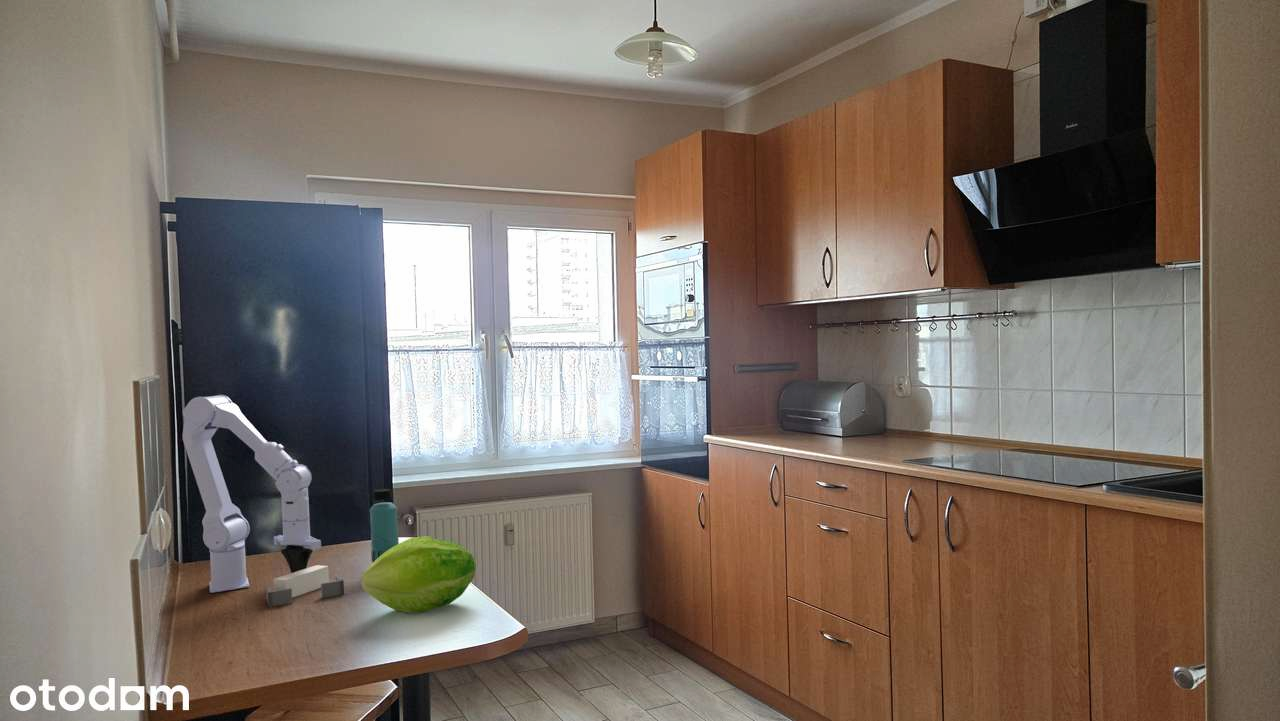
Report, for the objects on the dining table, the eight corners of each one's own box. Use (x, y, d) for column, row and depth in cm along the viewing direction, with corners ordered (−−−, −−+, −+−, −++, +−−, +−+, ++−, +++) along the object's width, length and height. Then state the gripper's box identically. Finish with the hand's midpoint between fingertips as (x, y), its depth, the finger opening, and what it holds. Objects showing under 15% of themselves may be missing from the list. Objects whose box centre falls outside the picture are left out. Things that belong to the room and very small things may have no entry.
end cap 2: (318, 591, 184) (317, 578, 184) (339, 588, 186) (339, 574, 186) (322, 597, 179) (321, 584, 179) (344, 594, 181) (343, 580, 181)
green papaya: (374, 627, 154) (356, 617, 167) (490, 603, 165) (465, 596, 179) (368, 547, 155) (350, 544, 169) (484, 529, 167) (459, 528, 180)
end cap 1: (266, 600, 179) (265, 586, 179) (289, 596, 181) (288, 582, 181) (268, 606, 174) (268, 592, 173) (292, 603, 176) (291, 588, 176)
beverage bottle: (404, 569, 200) (401, 486, 200) (394, 577, 193) (390, 491, 193) (378, 569, 201) (375, 487, 201) (367, 577, 194) (363, 492, 194)
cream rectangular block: (274, 599, 180) (273, 578, 180) (317, 584, 191) (317, 565, 191) (286, 601, 178) (285, 580, 178) (329, 585, 189) (328, 566, 189)
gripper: (260, 520, 191) (263, 579, 191) (300, 524, 183) (303, 586, 183) (288, 514, 197) (290, 571, 197) (327, 518, 189) (330, 578, 189)
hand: (298, 578), depth 190 cm, fingers closed
